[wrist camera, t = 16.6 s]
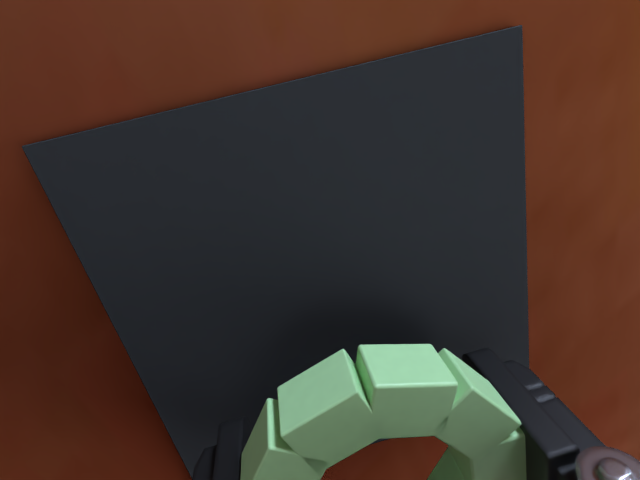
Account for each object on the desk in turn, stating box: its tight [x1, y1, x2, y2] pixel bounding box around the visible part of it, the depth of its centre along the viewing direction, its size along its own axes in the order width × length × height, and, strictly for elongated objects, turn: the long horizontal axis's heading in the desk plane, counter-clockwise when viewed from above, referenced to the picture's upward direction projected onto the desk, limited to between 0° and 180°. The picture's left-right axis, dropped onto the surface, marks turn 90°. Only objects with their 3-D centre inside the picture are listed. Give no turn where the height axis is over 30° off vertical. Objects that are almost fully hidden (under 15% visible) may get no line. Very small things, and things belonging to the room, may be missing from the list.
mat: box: [22, 25, 529, 478], centre depth 11 cm, size 12×12×1 cm
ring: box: [240, 344, 527, 480], centre depth 9 cm, size 7×7×1 cm
